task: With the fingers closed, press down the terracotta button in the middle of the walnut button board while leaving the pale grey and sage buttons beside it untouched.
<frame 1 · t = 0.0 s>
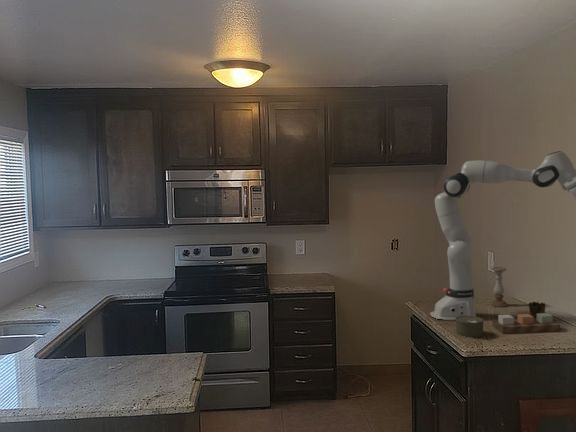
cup: (537, 319, 261), on the counter
walnut button board: (525, 328, 246), on the counter
sage button: (544, 318, 246), point 4 cm above the counter, slide at 0.0 cm
terracotta button: (525, 319, 246), point 4 cm above the counter, slide at 0.0 cm
can: (469, 334, 242), on the counter
grey button: (506, 320, 246), point 4 cm above the counter, slide at 0.0 cm
candle holder: (498, 305, 290), on the counter
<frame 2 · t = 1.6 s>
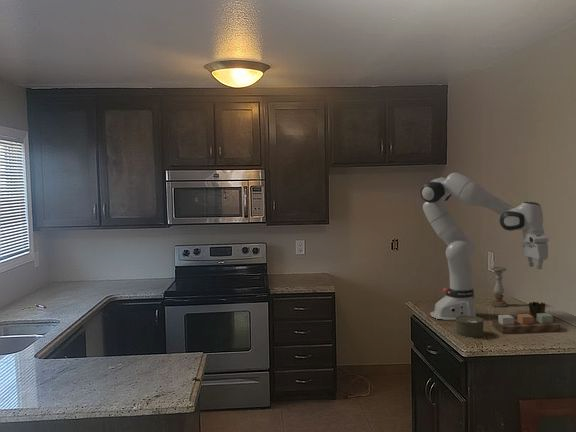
hand: (535, 267, 242), 29 cm above the counter, tool pointing down, fingers open, 8 cm apart
nothing on the counter moved.
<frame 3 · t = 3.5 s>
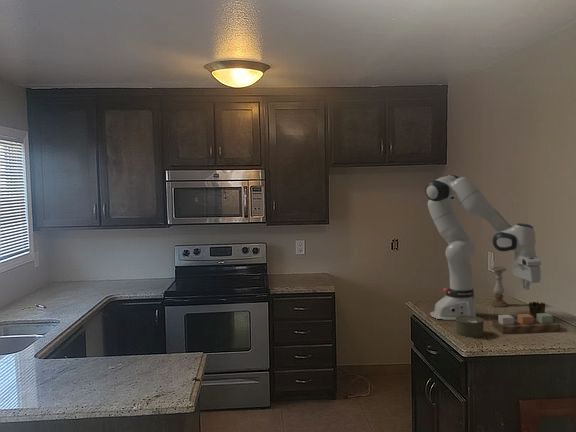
hand: (526, 288, 245), 19 cm above the counter, tool pointing down, fingers closed
nothing on the counter moved.
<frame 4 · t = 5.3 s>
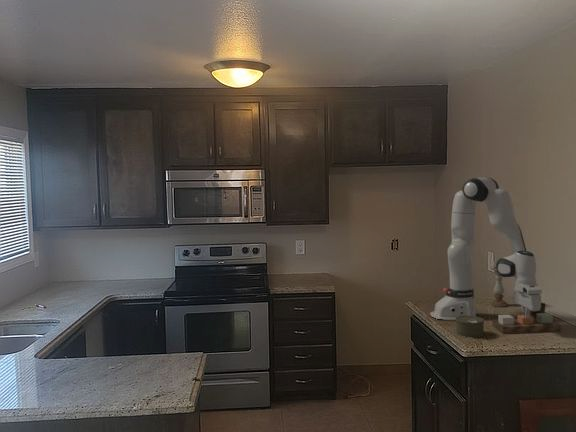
hand: (526, 316, 246), 6 cm above the counter, tool pointing down, fingers closed
terracotta button: (525, 319, 246), point 4 cm above the counter, slide at 0.4 cm, touching gripper
everything else where it was.
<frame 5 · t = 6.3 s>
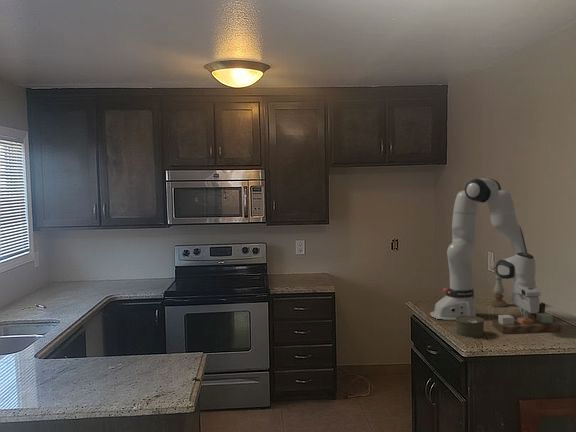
hand: (524, 318, 246), 5 cm above the counter, tool pointing down, fingers closed
terracotta button: (525, 322, 246), point 3 cm above the counter, slide at 1.6 cm
everything else where it was.
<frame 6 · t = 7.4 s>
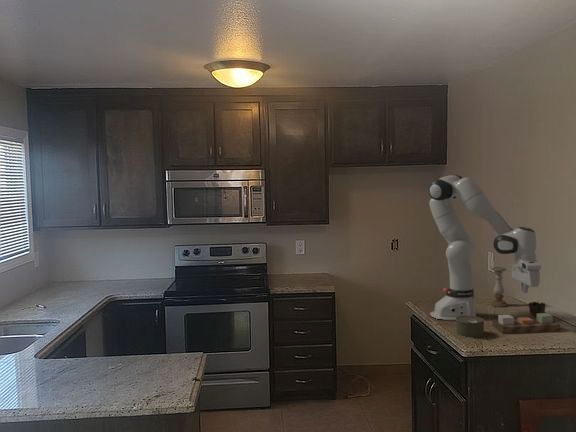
hand: (524, 292, 246), 17 cm above the counter, tool pointing down, fingers closed
nothing on the counter moved.
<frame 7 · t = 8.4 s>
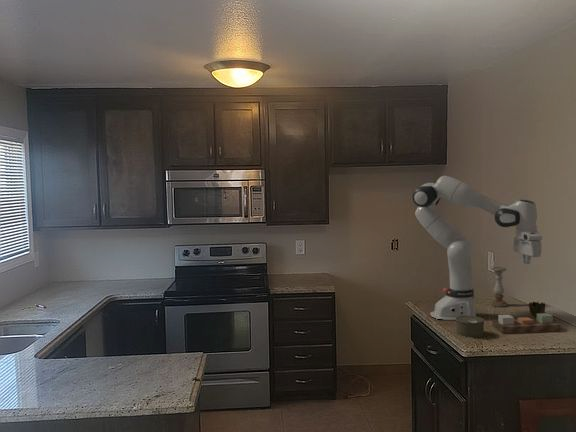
hand: (526, 263, 250), 29 cm above the counter, tool pointing down, fingers closed
nothing on the counter moved.
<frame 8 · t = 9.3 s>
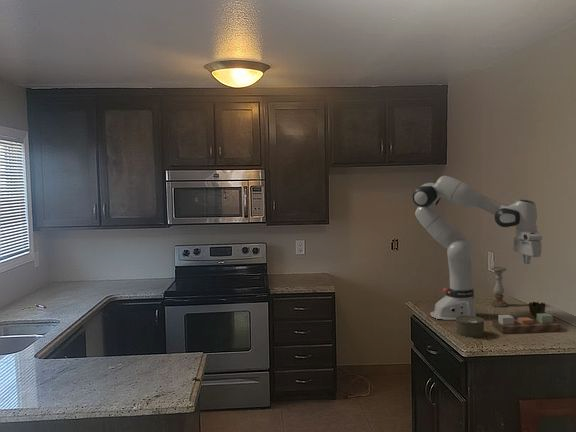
hand: (526, 263, 250), 29 cm above the counter, tool pointing down, fingers closed
nothing on the counter moved.
at the end: terracotta button slide at 1.6 cm; grey button slide at 0.0 cm; sage button slide at 0.0 cm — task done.
